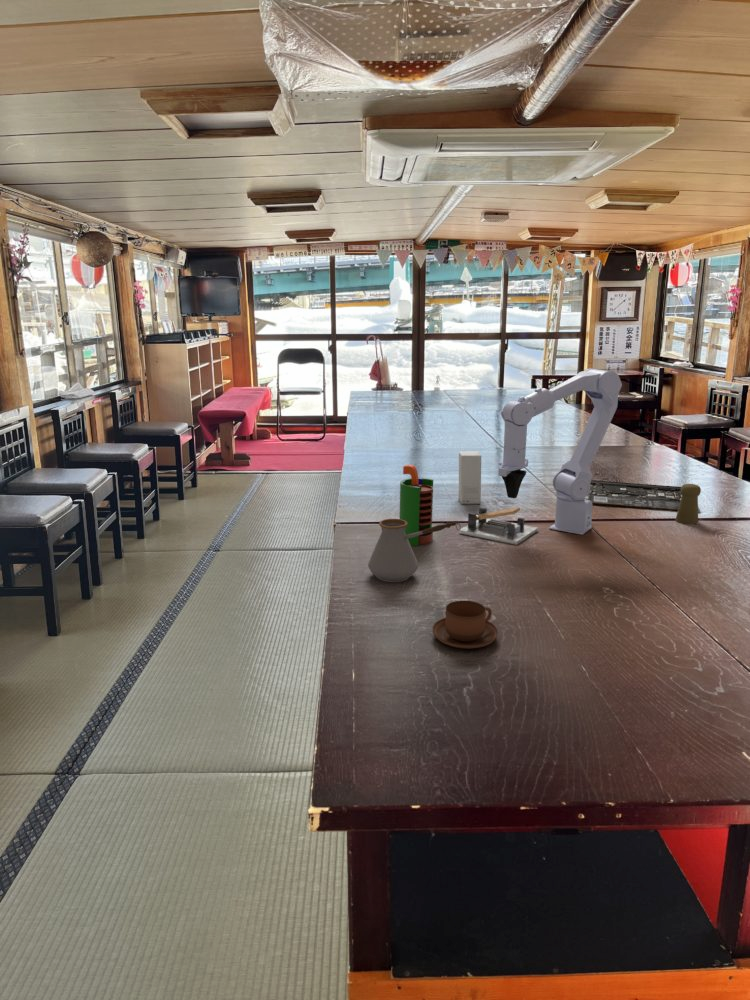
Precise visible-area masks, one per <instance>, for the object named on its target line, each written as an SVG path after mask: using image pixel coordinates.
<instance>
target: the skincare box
mask: <svg viewBox="0 0 750 1000" xmlns="http://www.w3.org/2000/svg"><path fill="white" fill-rule="evenodd" d="M481 485H482V454H481V453H480V452H479V451H477V450H472V451H471V450H469V451H458V499H459V503H460V504H461V505H479V504H480V505H481V503H482V501H481V500H482V496H481V495H482V494H481V493H482V486H481Z"/></svg>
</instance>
